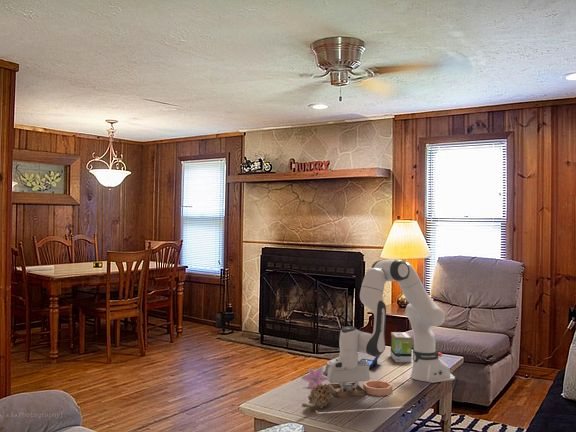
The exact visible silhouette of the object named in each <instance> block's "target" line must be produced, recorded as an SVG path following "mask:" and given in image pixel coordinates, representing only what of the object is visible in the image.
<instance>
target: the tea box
mask: <svg viewBox="0 0 576 432" xmlns="http://www.w3.org/2000/svg"><path fill="white" fill-rule="evenodd" d="M412 348H413V337H412V336H411V335H410V334H409V333H408V332H404V331H403V332H400V331H398V332H397V331H394V332H392V331H391V332H390V356H391V358H392V359H393V360H394V362H395V363H412V362H413V349H412Z"/></svg>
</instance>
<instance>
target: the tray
mask: <svg viewBox="0 0 576 432" xmlns="http://www.w3.org/2000/svg"><path fill="white" fill-rule="evenodd" d="M349 384H352V385H353V386H354V384H355V383H354V382H349ZM327 385H328V387H330V389H332V391H331V392H332V393H331V394H333V396H335V398H345V397H357V396H361V397H362V396H367V393H366V390H365V389H364V388H363V386H362V385H360V383H358V385H357V387H356V391H346V392H342V391H341V386H340V385H339V383H327Z"/></svg>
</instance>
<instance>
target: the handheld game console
mask: <svg viewBox="0 0 576 432" xmlns="http://www.w3.org/2000/svg"><path fill="white" fill-rule="evenodd" d="M380 357H381V355H379V356H377V357H374V359H368V358H361V359H360V360H359V361H367V362H368V363H369V365H370V368H369V370H372V369H373V367H374V366H375V365H376V364H377V363H378V359H379V358H380Z"/></svg>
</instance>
